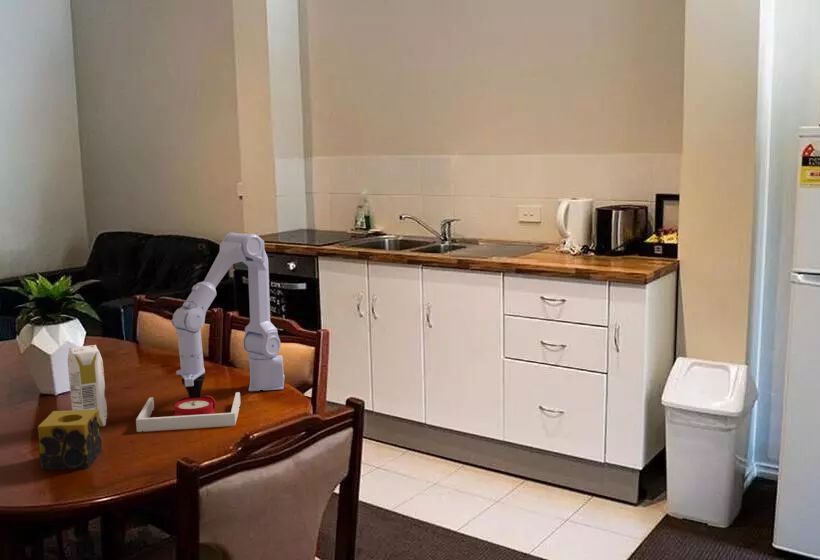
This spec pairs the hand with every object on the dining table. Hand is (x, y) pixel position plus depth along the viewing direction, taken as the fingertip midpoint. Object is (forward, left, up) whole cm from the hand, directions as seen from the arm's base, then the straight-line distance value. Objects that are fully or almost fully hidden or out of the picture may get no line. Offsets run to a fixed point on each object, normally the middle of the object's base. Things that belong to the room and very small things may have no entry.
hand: (195, 404), depth 208 cm
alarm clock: (-1, +7, -1) cm, 8 cm away
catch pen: (0, +7, -1) cm, 7 cm away
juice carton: (+24, +8, -1) cm, 26 cm away
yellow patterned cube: (+22, +32, -1) cm, 39 cm away
